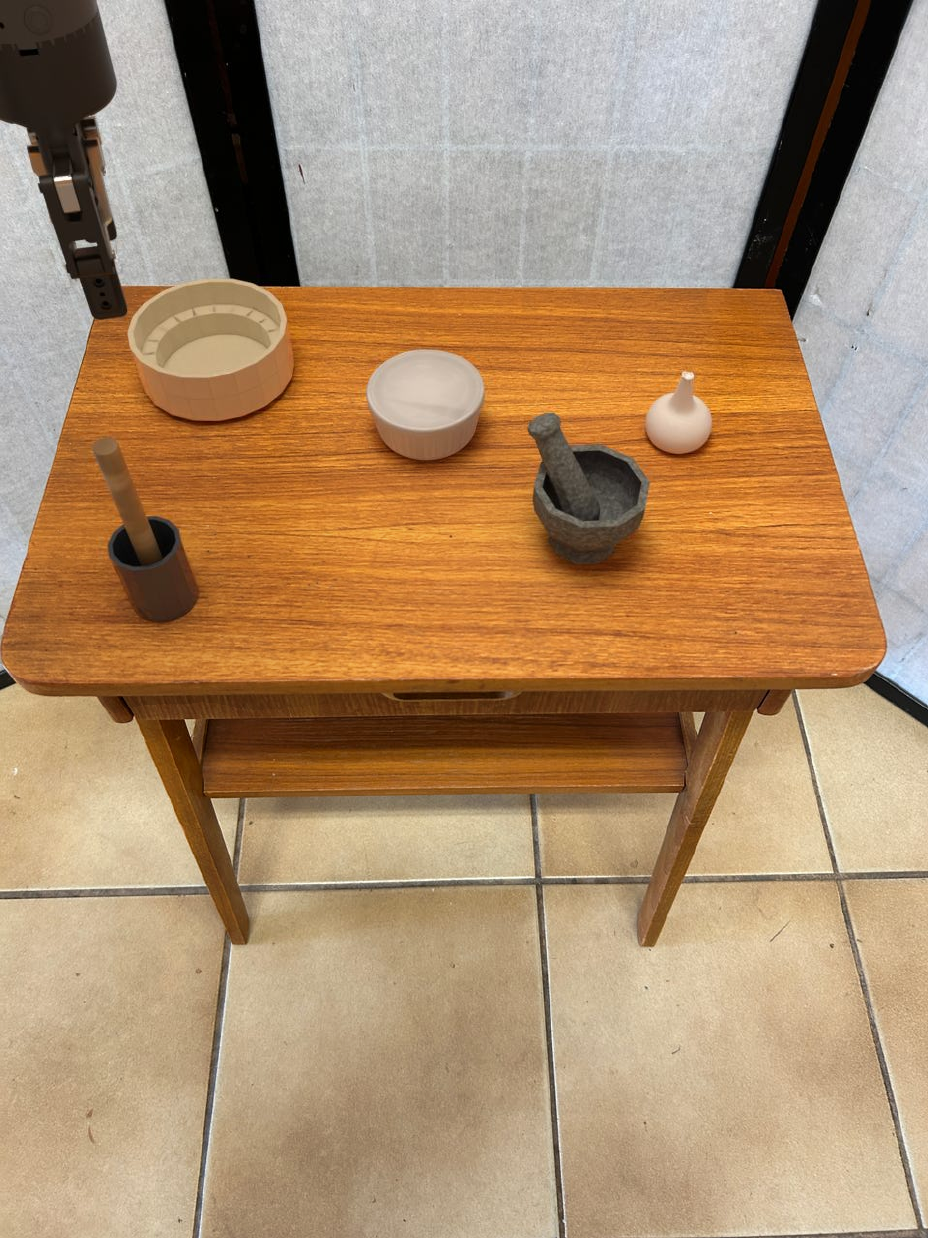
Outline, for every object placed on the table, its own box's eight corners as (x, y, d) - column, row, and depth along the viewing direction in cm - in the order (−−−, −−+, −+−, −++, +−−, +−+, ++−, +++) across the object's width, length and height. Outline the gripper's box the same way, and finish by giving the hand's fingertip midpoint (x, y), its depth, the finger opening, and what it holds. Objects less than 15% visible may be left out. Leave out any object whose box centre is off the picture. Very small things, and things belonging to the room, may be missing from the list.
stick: (154, 602, 80) (93, 457, 66) (152, 586, 81) (90, 439, 67) (176, 597, 80) (119, 451, 66) (173, 581, 81) (116, 434, 67)
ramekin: (388, 482, 89) (385, 440, 85) (355, 404, 95) (351, 362, 91) (500, 454, 91) (502, 412, 87) (461, 380, 97) (462, 338, 93)
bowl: (154, 439, 92) (137, 390, 87) (136, 342, 100) (120, 293, 96) (308, 407, 95) (300, 359, 90) (278, 315, 103) (270, 267, 98)
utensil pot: (136, 629, 79) (111, 577, 73) (128, 577, 82) (104, 524, 76) (203, 613, 80) (184, 561, 74) (193, 563, 83) (174, 508, 77)
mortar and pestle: (655, 527, 86) (681, 428, 76) (608, 596, 81) (629, 501, 72) (546, 478, 90) (558, 378, 80) (495, 542, 85) (501, 444, 75)
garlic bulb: (716, 427, 94) (736, 362, 87) (694, 467, 91) (713, 402, 84) (656, 406, 96) (671, 340, 89) (633, 444, 92) (646, 379, 86)
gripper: (-51, -45, 53) (43, 223, 66) (-58, 75, 45) (51, 352, 58) (88, -55, 54) (153, 209, 68) (105, 60, 47) (175, 334, 60)
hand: (106, 275), depth 63 cm, fingers open, 8 cm apart
